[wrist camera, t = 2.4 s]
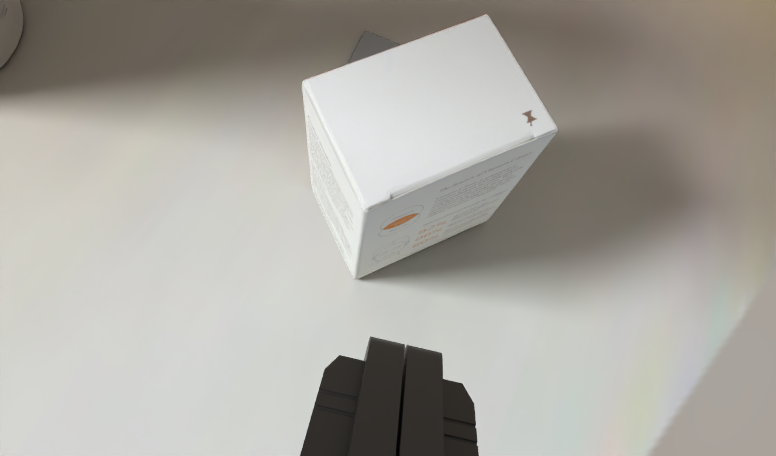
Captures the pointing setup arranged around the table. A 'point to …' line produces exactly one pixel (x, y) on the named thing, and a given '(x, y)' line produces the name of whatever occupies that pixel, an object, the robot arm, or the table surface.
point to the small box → (420, 141)
